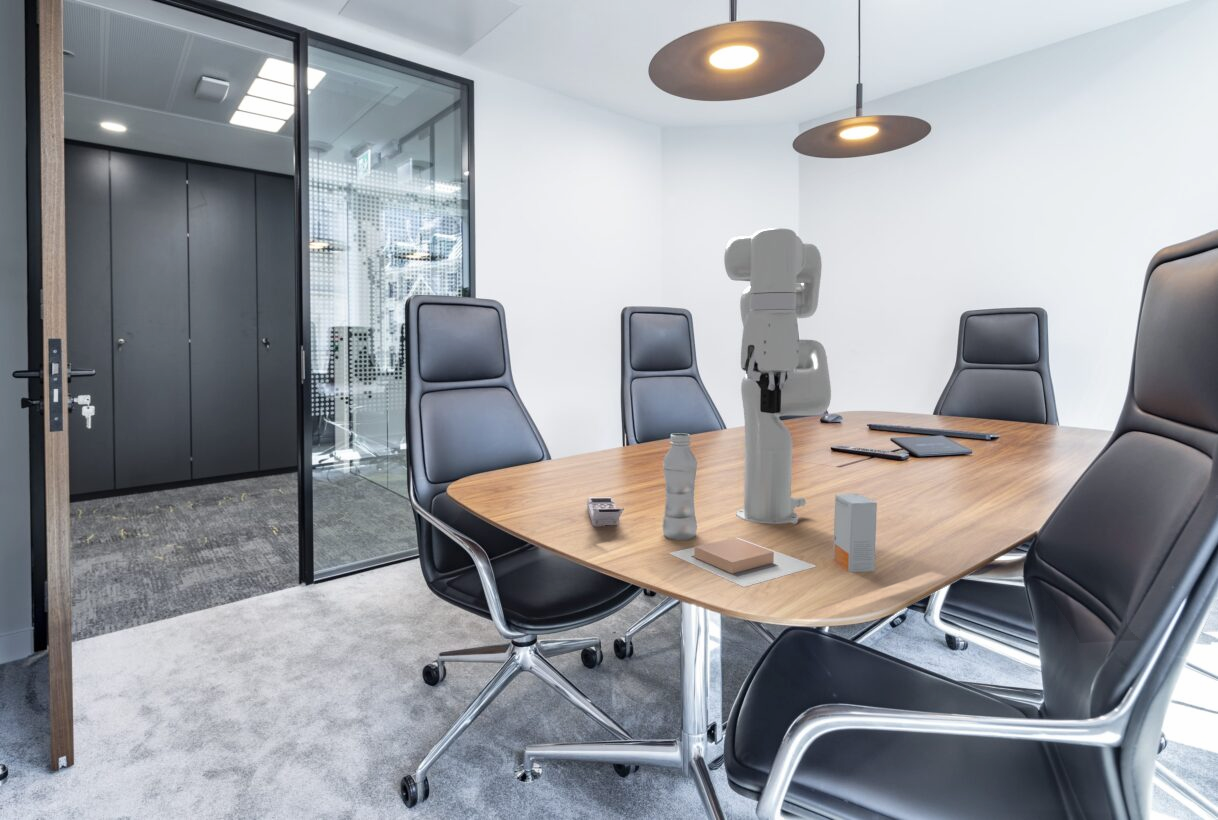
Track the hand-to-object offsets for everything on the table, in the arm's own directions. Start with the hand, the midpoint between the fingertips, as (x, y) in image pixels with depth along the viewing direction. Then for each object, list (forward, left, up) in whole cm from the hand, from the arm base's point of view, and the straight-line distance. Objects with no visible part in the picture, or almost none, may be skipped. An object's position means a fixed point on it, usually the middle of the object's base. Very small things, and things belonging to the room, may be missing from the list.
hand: (770, 412), depth 107 cm
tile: (+6, +3, -23) cm, 24 cm away
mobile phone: (+14, -33, -25) cm, 44 cm away
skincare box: (-4, +14, -25) cm, 29 cm away
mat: (+9, +3, -25) cm, 26 cm away
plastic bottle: (+9, -13, -25) cm, 30 cm away
